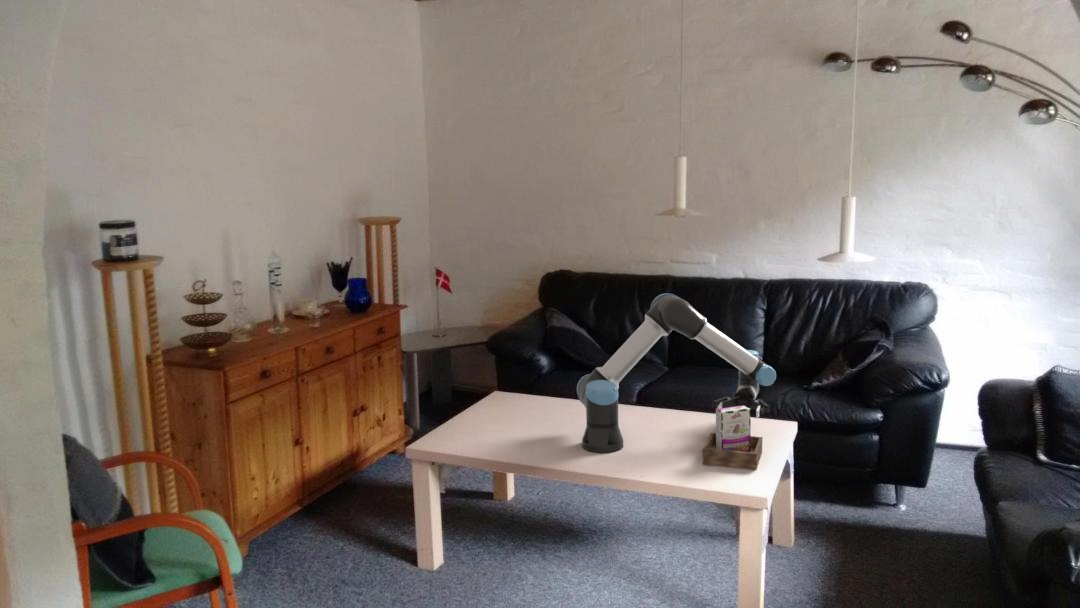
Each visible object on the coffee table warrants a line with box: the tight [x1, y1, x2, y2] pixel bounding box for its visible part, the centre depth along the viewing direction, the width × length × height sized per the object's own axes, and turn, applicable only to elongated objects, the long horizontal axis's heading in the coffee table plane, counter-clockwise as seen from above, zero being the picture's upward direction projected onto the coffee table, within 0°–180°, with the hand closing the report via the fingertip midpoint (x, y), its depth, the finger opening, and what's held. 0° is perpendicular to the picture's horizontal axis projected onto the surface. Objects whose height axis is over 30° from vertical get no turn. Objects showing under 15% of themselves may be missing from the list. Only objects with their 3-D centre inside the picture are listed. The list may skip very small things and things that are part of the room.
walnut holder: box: [702, 432, 763, 471], centre depth 300 cm, size 18×18×6 cm
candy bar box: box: [715, 406, 752, 452], centre depth 298 cm, size 11×5×16 cm, turn 106°
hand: (737, 412), depth 307 cm, fingers open, 13 cm apart
